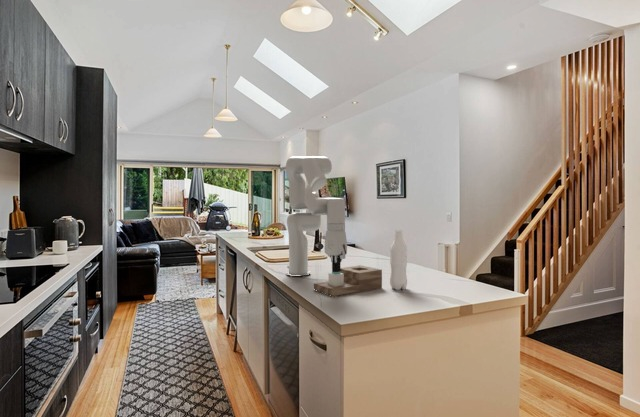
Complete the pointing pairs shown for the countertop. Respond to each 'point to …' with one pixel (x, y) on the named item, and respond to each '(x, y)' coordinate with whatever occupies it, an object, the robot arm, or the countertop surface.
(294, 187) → the robot arm
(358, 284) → the wooden stepped block
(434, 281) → the countertop surface
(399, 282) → the water bottle
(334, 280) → the plug
